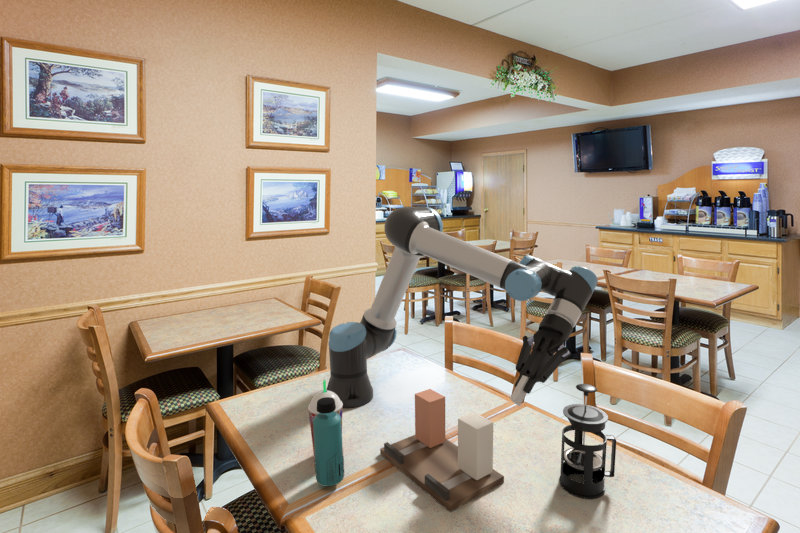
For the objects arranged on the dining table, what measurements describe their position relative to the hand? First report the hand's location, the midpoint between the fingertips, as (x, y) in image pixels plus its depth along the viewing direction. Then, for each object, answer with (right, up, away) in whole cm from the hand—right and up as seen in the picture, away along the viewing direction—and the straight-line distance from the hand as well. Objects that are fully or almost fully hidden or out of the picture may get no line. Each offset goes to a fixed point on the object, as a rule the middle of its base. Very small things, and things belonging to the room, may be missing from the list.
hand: (514, 402), depth 105 cm
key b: (-19, -12, +9) cm, 25 cm away
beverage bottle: (-43, -17, -5) cm, 46 cm away
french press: (+14, -16, -7) cm, 22 cm away
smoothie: (-45, -16, +5) cm, 48 cm away
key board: (-18, -16, 0) cm, 24 cm away
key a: (-10, -14, -4) cm, 18 cm away
